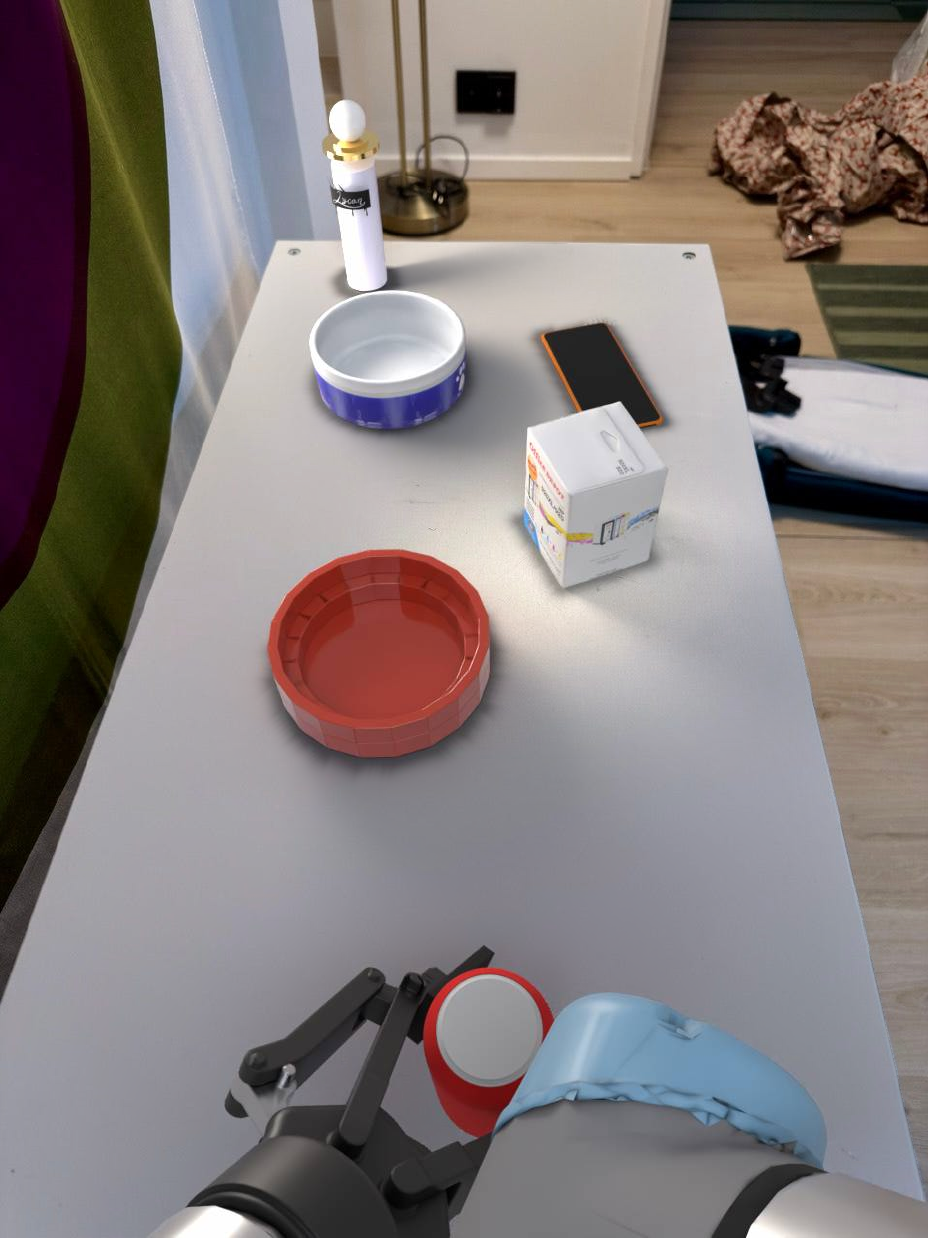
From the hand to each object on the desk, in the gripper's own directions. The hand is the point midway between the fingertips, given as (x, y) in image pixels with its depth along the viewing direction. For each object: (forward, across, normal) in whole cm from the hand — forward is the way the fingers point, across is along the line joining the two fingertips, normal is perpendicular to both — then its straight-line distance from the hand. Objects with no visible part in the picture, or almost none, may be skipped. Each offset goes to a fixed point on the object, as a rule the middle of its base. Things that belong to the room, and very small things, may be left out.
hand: (530, 1007), depth 48 cm
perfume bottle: (+44, -60, +34) cm, 82 cm away
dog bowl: (+36, -47, +26) cm, 64 cm away
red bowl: (+17, -25, +6) cm, 30 cm away
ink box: (+31, -19, +20) cm, 42 cm away
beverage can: (0, 0, -5) cm, 5 cm away
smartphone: (+45, -30, +34) cm, 64 cm away
